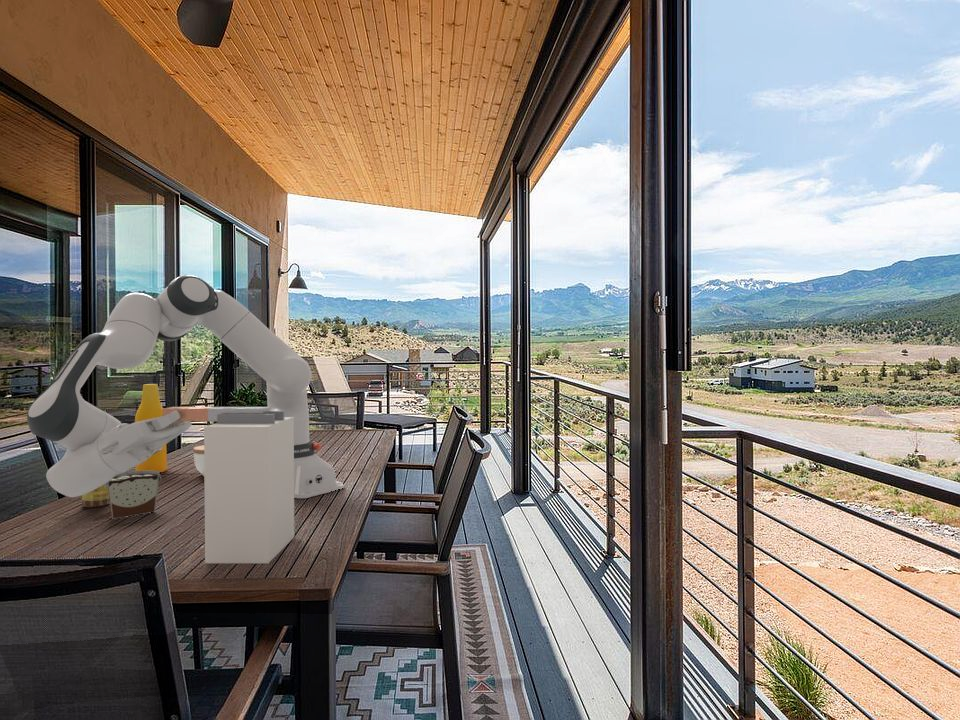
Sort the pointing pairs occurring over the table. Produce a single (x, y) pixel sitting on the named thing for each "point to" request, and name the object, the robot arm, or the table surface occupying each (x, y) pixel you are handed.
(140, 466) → the yellow bottle
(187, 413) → the knife
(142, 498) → the half round cake
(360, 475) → the table surface
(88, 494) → the sauce bottle
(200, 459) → the lidded bowl
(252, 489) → the stand
